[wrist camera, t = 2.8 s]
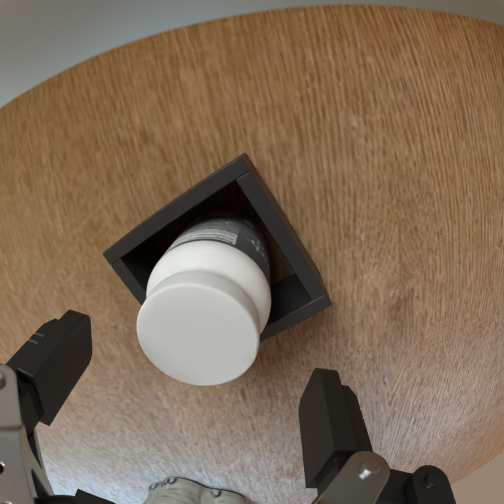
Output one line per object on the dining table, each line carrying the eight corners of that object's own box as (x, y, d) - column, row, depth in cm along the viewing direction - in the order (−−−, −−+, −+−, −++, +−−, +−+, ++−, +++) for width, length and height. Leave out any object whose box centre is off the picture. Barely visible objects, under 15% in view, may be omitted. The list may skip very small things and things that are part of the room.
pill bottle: (271, 287, 21) (277, 395, 12) (188, 293, 22) (145, 395, 12) (264, 202, 20) (266, 265, 10) (174, 211, 20) (105, 276, 11)
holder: (131, 230, 20) (102, 254, 16) (245, 152, 19) (240, 156, 14) (208, 331, 23) (197, 371, 19) (319, 271, 21) (332, 305, 17)
